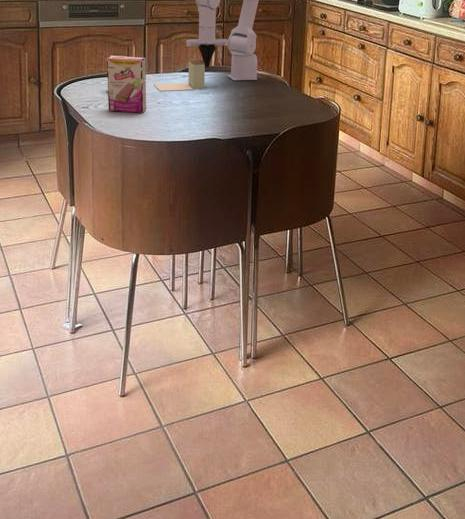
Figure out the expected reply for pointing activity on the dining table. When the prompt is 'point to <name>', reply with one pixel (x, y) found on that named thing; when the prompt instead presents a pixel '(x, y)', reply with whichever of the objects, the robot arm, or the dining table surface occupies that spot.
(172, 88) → the mat
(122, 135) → the dining table surface
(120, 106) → the candy bar box
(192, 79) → the sage block
